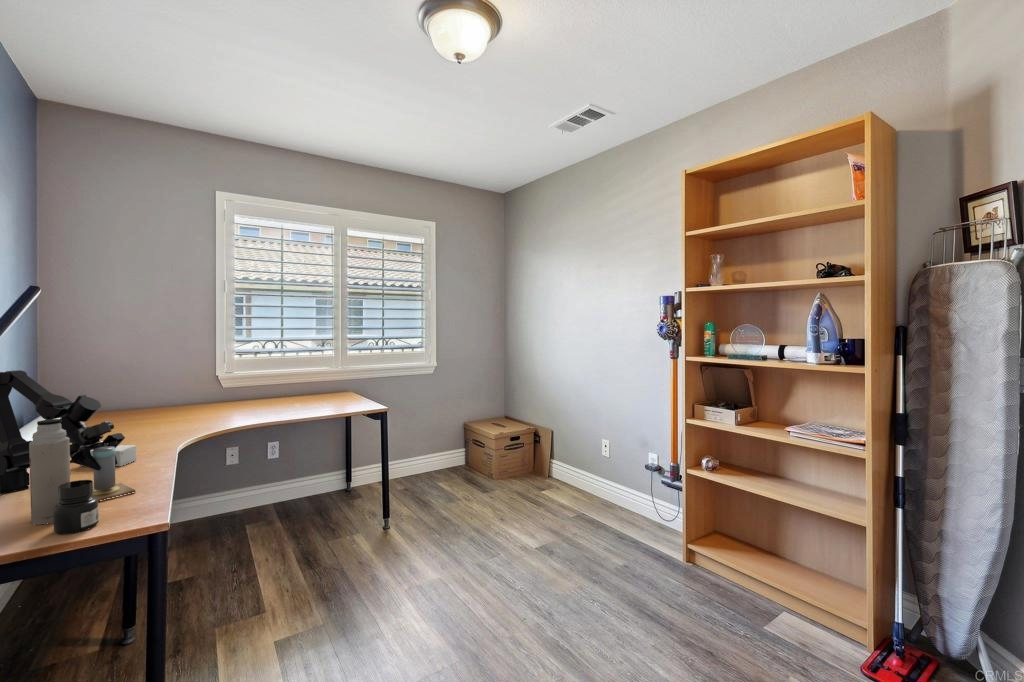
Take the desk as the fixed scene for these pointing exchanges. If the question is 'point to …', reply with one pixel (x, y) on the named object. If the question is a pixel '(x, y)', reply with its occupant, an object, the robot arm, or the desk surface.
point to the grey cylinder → (104, 467)
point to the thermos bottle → (47, 468)
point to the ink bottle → (75, 507)
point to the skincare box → (124, 454)
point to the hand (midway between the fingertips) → (108, 466)
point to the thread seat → (112, 492)
